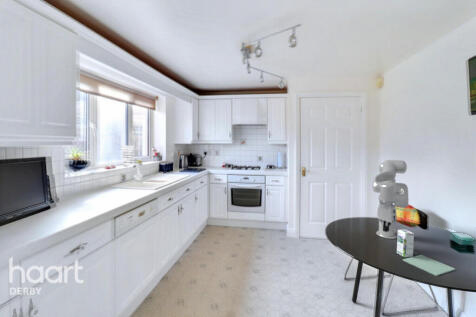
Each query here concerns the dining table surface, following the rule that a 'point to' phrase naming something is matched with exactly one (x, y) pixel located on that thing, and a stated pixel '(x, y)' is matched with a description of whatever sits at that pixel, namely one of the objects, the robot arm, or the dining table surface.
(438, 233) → the dining table surface
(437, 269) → the mat
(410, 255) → the syrup box
